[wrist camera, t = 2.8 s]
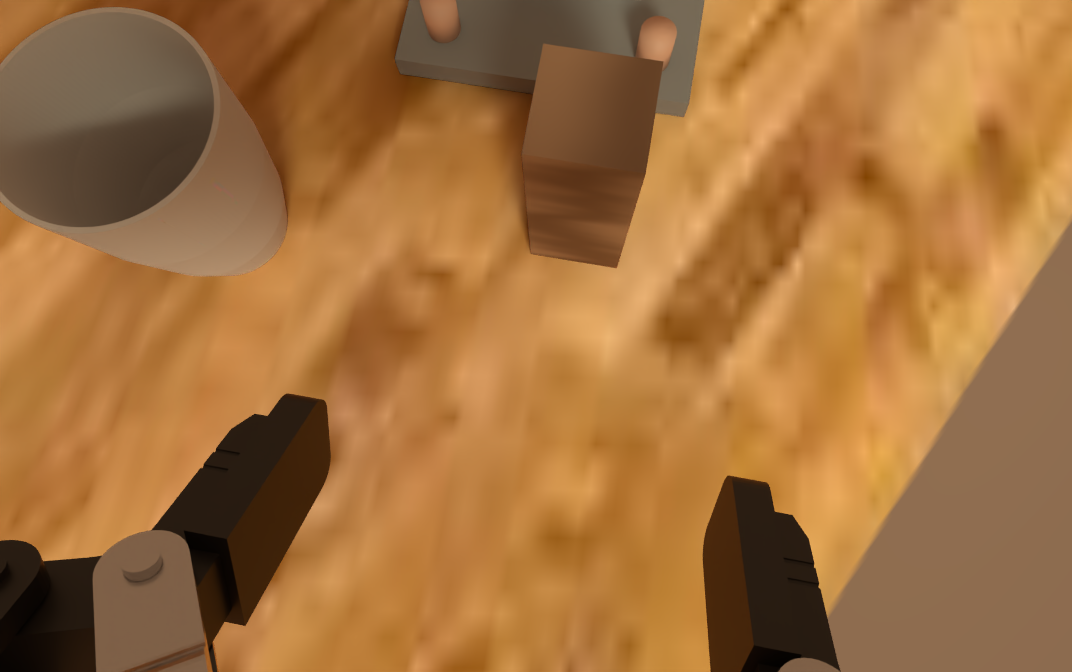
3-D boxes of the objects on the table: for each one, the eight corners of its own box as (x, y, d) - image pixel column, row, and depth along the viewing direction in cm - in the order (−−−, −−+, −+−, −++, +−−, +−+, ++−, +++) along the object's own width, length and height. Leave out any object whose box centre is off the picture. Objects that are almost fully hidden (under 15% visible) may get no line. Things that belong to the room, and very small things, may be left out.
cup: (290, 122, 33) (182, -25, 24) (342, 271, 32) (249, 179, 22) (130, 180, 33) (-48, 55, 23) (174, 334, 31) (3, 270, 22)
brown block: (530, 253, 32) (521, 153, 22) (546, 174, 33) (543, 43, 23) (616, 268, 32) (645, 173, 22) (630, 187, 32) (663, 61, 22)
